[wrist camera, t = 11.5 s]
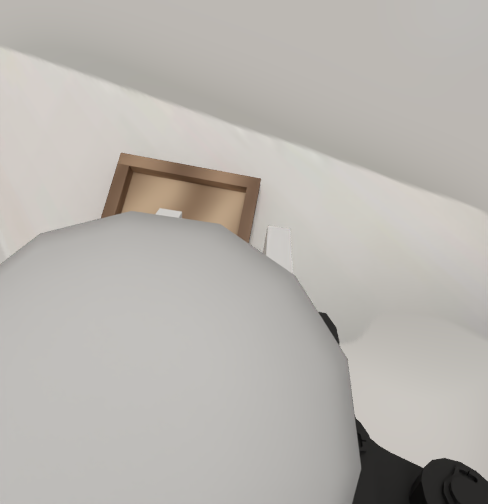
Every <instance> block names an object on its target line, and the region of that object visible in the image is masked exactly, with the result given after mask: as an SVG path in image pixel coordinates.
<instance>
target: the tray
mask: <svg viewBox="0 0 488 504" xmlns="http://www.w3.org/2000/svg"><path fill="white" fill-rule="evenodd" d="M260 181H261V179H260V178H255V177H249V176H244V175H238V174H233V173H228V172H222V171H217V170H211V169H206V168H201V167H195V166H190V165H184V164H179V163H174V162H168V161H163V160H157V159H152V158H147V157H141V156H136V155H131V154H125V153H121V154H120V157H119V161H118V164H117V167H116V170H115V174H114V177H113V180H112V184H111V187H110V190H109V193H108V197H107V200H106V203H105V207H104V210H103V213H102V216H101V218H105V217H109V216H113V215H117V214H121V213H125V212H129V211H136V212H143V213H149V214H156V213H157V211H158V210H159V209H160V208H162V209H168V210H175V211H181V212H182V218H183V219H190V220H197V221H204V222H210V223H217V224H221V225H222V226H224V227H225V228H227V229H228V230H230V231H231V232H233V233H234V234H236V235H237V236H238V237H240V238H241V239H243V240H244V241H246V242H247V243H249V239H250V234H251V229H252V224H253V218H254V213H255V208H256V203H257V198H258V193H259V188H260Z"/></svg>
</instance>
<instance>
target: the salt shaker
mask: <svg viewBox="0 0 488 504" xmlns="http://www.w3.org/2000/svg"><path fill="white" fill-rule="evenodd" d="M360 471H361V462H360V454H359V446H358V438H357V430H356V423H355V415H354V407H353V399H352V391H351V384H350V375H349V367H348V359H347V357H346V356H345V354H344V353H343V351H342V349H341V348H340V346H339V345H338V343H337V341H336V340H335V338H334V337H333V335H332V333H331V332H330V330H329V329H328V327H327V325H326V324H325V322H324V321H323V319H322V318H321V316H320V314H319V313H318V311H317V310H316V308H315V306H314V305H313V303H312V302H311V300H310V298H309V297H308V295H307V294H306V292H305V290H304V289H303V287H302V286H301V284H300V283H299V281H298V279H297V278H296V276H295V275H294V274H292V273H291V272H289V271H288V270H286V269H285V268H284V267H282V266H281V265H279V264H278V263H276V262H275V261H273V260H272V259H270V258H269V257H268V256H266V255H265V254H263V253H262V252H260V251H259V250H257V249H256V248H254V247H253V246H252V245H250V244H249V243H247V242H246V241H244V240H243V239H241V238H240V237H238V236H237V235H236V234H234V233H233V232H231V231H230V230H228V229H227V228H225V227H224V226H222V225H221V224H217V223H210V222H204V221H197V220H190V219H183V218H177V217H170V216H163V215H156V214H149V213H143V212H136V211H129V212H125V213H121V214H117V215H113V216H109V217H105V218H101V219H97V220H93V221H89V222H85V223H81V224H77V225H73V226H69V227H65V228H61V229H57V230H53V231H49V232H45V233H41V234H39V235H38V236H36V237H35V238H34V239H32V240H31V241H30V242H28V243H27V244H26V245H25V246H23V247H22V248H21V249H19V250H18V251H17V252H15V253H14V254H13V255H12V256H10V257H9V258H8V259H6V260H5V261H4V262H2V263H1V264H0V504H352V502H353V498H354V494H355V490H356V487H357V483H358V479H359V475H360Z"/></svg>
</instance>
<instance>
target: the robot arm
mask: <svg viewBox="0 0 488 504" xmlns="http://www.w3.org/2000/svg"><path fill="white" fill-rule="evenodd" d="M156 215H163V216H170V217H177V218H182V212H181V211H175V210H168V209H162V208H160V209H159V210H158V211H157V213H156ZM263 254H265V255H266V256H268V257H269V258H270V259H272V260H273V261H275V262H276V263H278V264H279V265H281V266H282V267H284V268H285V269H286V270H288V271H289V272H291V273H292V274H293V262H292V246H291V230H290V229H289V228H283V227H277V226H270V225H268V228H267V233H266V239H265V244H264V250H263ZM318 313H319V314H320V316H321V318H322V319H323V321H324V322H325V324H326V325H327V327H328V329H329V330H330V332H331V333H332V335H333V337H334V338H335V340H336V341H337V343H338V345H339V339H338V334H337V329H336V327H335V325H334V324H333V322H332V321H331V320H330V318H329V317H328V315H327V314H326V313H321V312H318ZM354 415H355V414H354ZM355 423H356V430H357V438H358V446H359V454H360V462H361V471H360V475H359V479H358V483H357V487H356V490H355V494H354V498H353V502H352V504H488V481H486V480H485V479H484V478H483V477H482V476H481V475H480V474H479V473H477V472H476V471H474V470H473V469H471V468H470V467H468V466H466V465H464V464H463V463H461V462H458V461H454V460H450V459H446V458H442V459H436V460H432V461H431V462H430V463H428V464H427V465H426V466H425V467H424V468H422V467H420V466H418V465H416V464H413V463H411V462H409V461H407V460H405V459H403V458H401V457H399V456H397V455H395V454H392V453H390V452H388V451H387V450H385V449H383V448H382V447H380V446H379V445H377V444H376V443H375V442H374V441H373V440H371V439H370V437H369V435H368V433H367V432H366V430H365V429H364V427H363V426H362V424H361V423H360V422H359V421H358V420H357V419H356V417H355Z"/></svg>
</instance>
